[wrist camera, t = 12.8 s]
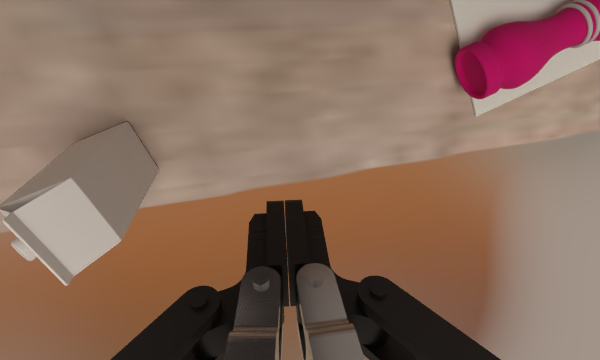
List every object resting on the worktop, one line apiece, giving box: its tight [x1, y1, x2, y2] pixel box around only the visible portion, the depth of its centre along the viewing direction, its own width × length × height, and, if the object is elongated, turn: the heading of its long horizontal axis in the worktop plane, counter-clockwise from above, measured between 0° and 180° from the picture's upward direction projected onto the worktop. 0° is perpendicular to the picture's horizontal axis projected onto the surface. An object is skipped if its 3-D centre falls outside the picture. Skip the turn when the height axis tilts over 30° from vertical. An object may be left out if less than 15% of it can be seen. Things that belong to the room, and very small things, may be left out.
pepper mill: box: [455, 0, 600, 99], centre depth 40 cm, size 7×7×20 cm
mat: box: [450, 0, 600, 116], centre depth 42 cm, size 18×16×1 cm
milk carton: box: [0, 122, 159, 286], centre depth 36 cm, size 7×7×19 cm
